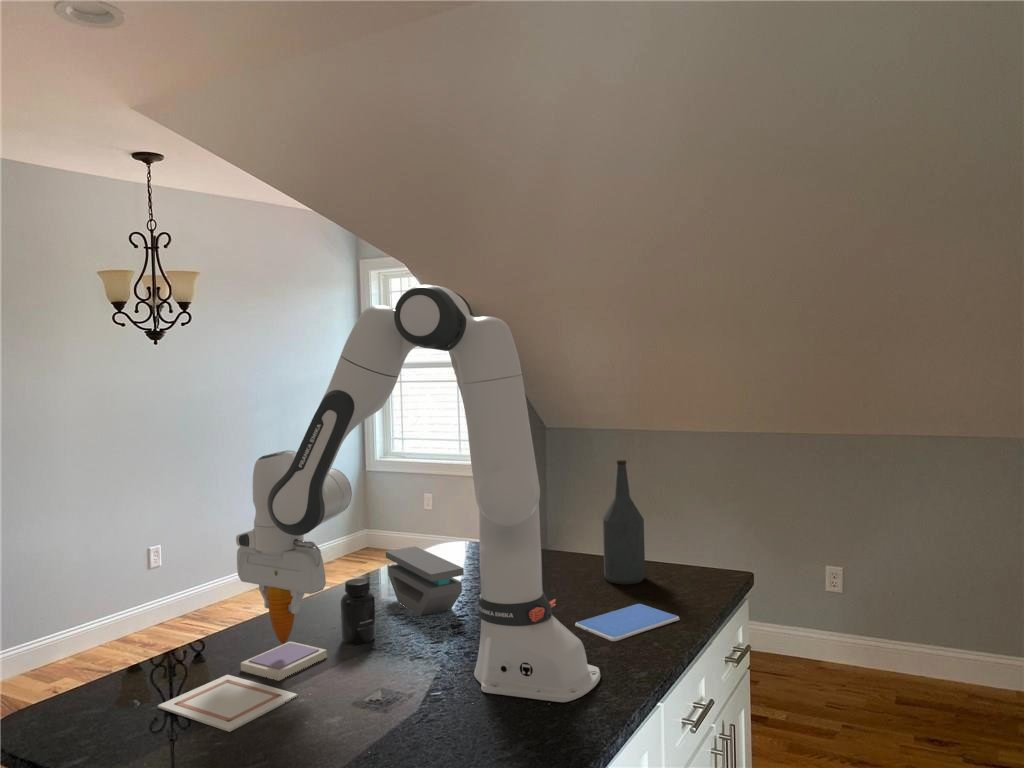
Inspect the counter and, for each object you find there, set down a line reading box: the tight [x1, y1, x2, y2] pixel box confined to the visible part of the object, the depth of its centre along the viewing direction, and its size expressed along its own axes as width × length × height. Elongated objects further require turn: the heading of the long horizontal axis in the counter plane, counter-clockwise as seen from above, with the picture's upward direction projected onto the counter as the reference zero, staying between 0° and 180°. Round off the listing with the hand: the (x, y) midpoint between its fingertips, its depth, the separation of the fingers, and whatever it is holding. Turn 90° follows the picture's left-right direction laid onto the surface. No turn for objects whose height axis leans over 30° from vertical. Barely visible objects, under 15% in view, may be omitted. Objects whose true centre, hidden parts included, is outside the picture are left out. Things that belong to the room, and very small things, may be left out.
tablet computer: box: [574, 603, 680, 642], centre depth 163 cm, size 19×13×1 cm, turn 125°
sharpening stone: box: [385, 545, 465, 617], centre depth 178 cm, size 25×8×11 cm, turn 32°
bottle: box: [602, 459, 646, 585], centre depth 193 cm, size 10×10×30 cm
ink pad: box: [240, 641, 328, 682], centre depth 146 cm, size 10×12×2 cm
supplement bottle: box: [340, 578, 376, 646], centre depth 157 cm, size 7×7×12 cm
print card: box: [157, 674, 299, 732], centre depth 130 cm, size 18×14×1 cm
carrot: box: [268, 571, 295, 645], centre depth 146 cm, size 5×5×15 cm
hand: (282, 610), depth 146 cm, fingers closed on carrot, 5 cm apart
